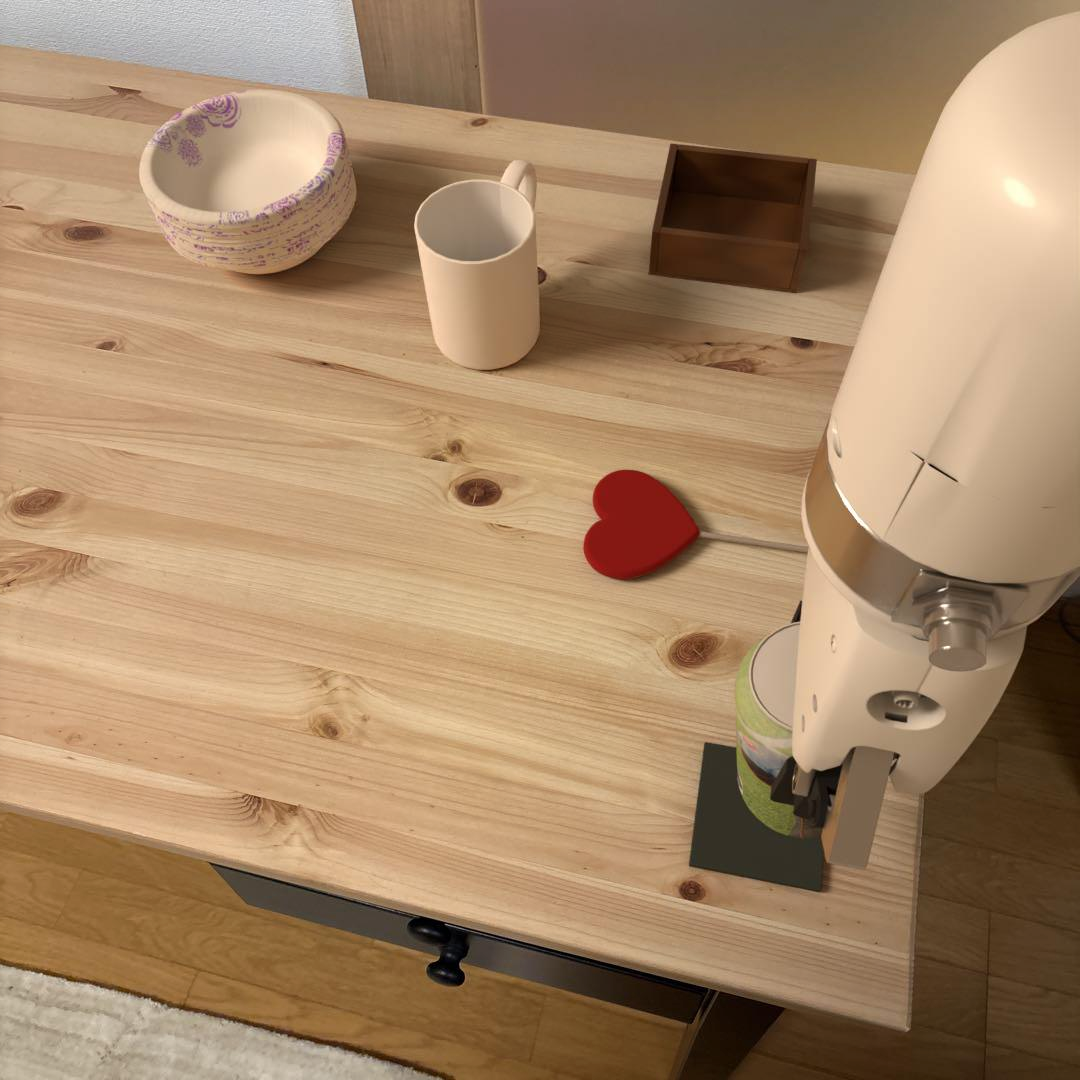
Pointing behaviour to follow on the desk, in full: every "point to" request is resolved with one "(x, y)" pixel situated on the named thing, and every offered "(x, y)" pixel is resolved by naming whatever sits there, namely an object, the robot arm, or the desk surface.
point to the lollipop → (643, 527)
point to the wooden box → (733, 217)
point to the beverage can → (768, 727)
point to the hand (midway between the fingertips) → (814, 722)
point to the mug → (482, 268)
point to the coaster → (745, 832)
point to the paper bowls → (249, 180)
